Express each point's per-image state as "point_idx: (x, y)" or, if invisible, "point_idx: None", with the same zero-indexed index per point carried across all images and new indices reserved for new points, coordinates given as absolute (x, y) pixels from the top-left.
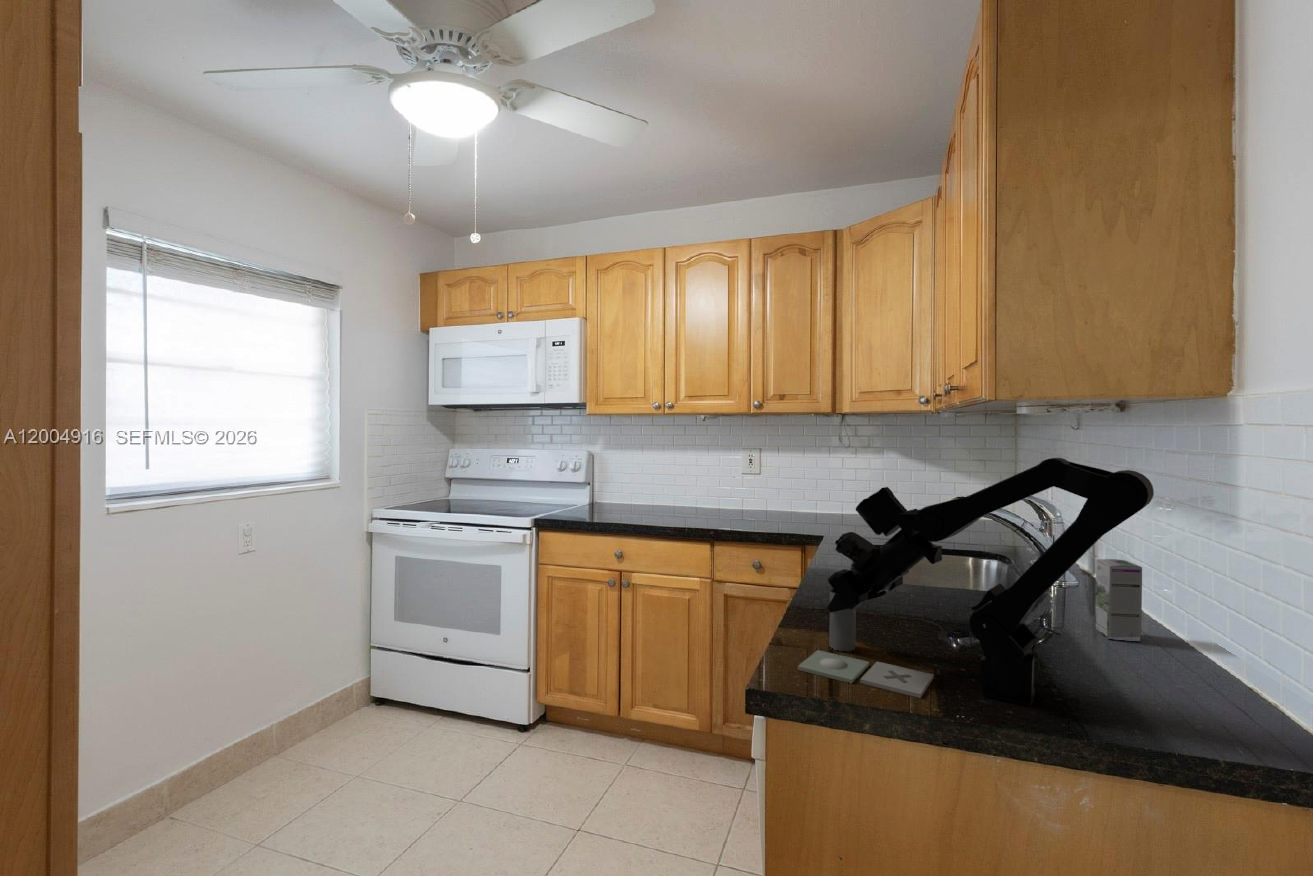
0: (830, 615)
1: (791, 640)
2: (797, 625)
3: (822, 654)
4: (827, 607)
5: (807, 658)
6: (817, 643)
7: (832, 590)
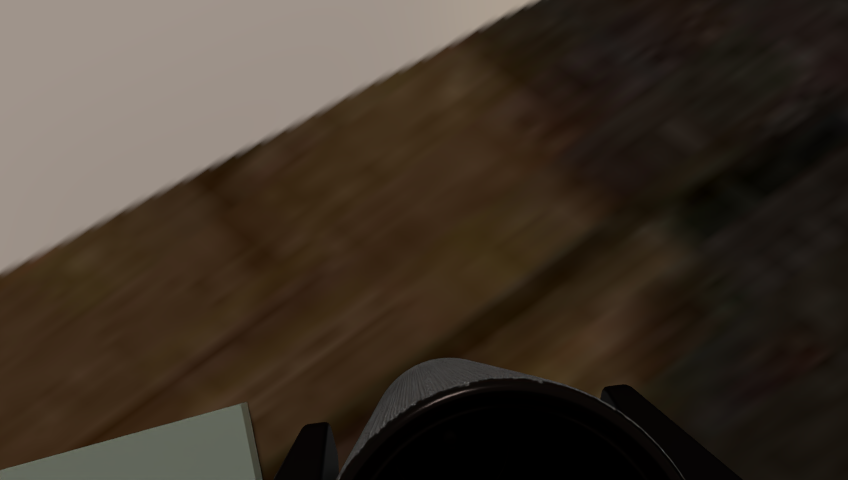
0: (372, 415)
1: (314, 173)
2: (548, 45)
3: (195, 472)
4: (302, 430)
5: (70, 451)
6: (392, 296)
7: (444, 423)
